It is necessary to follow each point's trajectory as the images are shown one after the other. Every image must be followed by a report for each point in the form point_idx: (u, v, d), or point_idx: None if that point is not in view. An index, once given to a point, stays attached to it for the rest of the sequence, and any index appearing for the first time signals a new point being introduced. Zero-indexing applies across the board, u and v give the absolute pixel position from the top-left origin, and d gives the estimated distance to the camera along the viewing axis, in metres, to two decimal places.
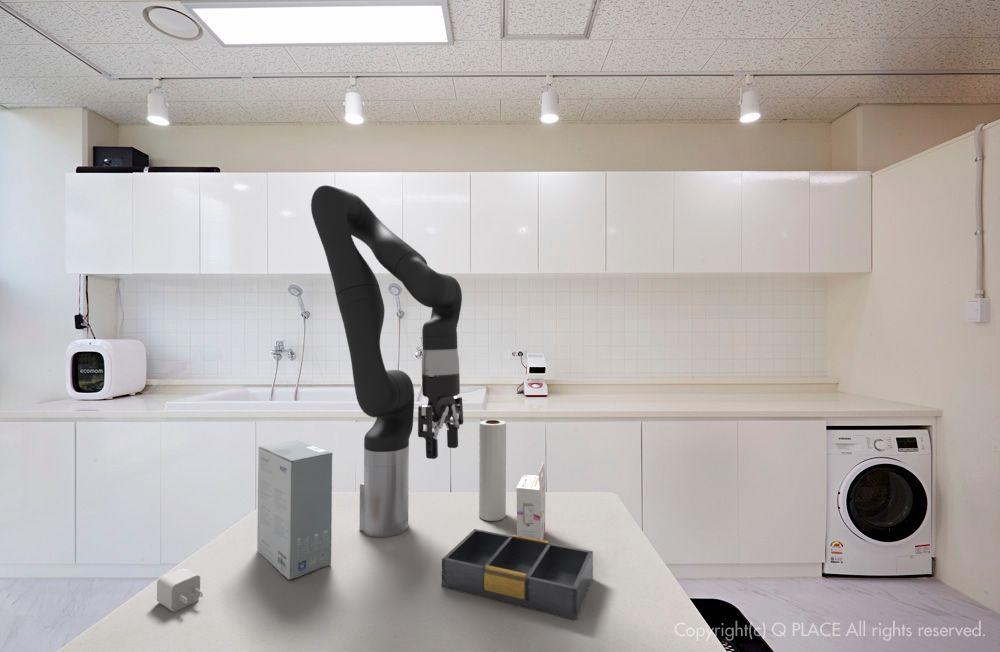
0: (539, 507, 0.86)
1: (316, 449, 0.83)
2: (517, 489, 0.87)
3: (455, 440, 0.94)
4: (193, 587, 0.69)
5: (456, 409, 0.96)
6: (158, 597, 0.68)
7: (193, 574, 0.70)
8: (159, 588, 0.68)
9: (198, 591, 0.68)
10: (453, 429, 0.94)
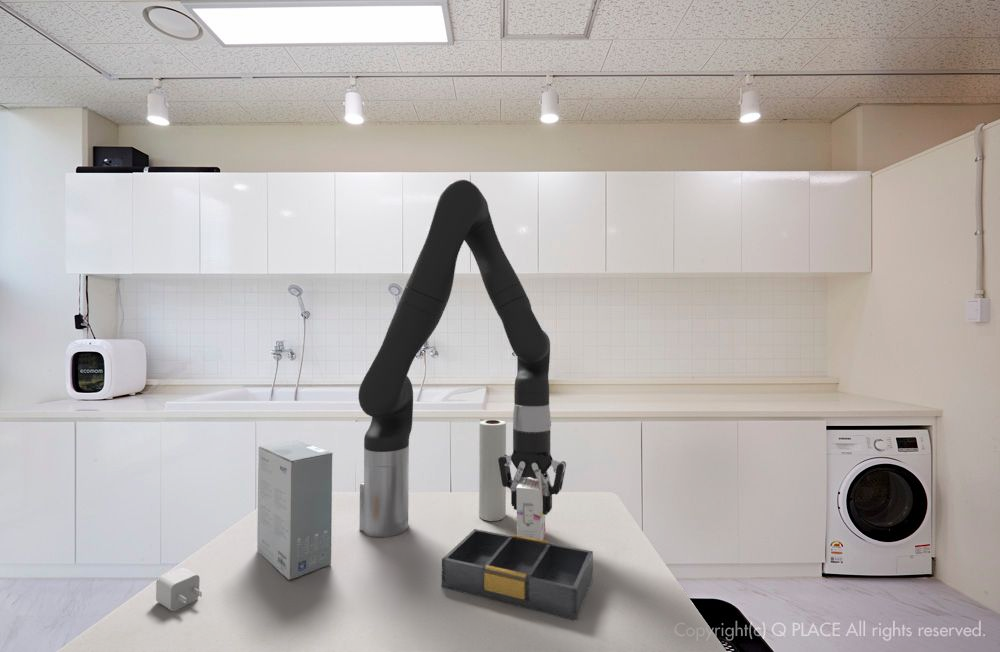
0: (539, 507, 0.86)
1: (316, 449, 0.83)
2: (517, 489, 0.87)
3: None
4: (193, 586, 0.69)
5: (508, 468, 0.93)
6: (157, 597, 0.68)
7: (192, 574, 0.70)
8: (158, 588, 0.68)
9: (198, 591, 0.68)
10: None
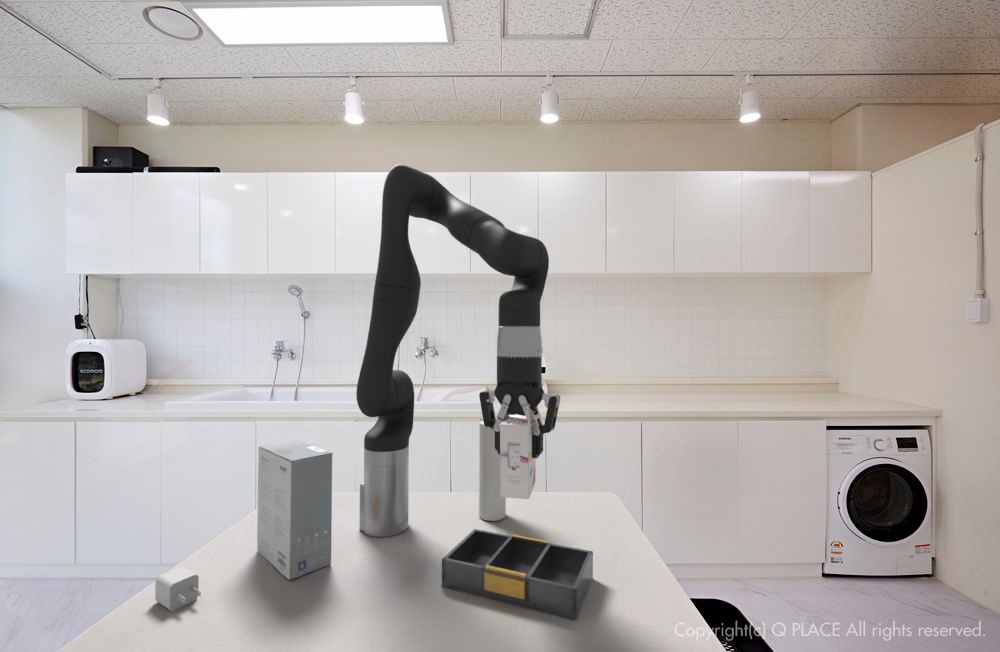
0: (527, 447, 0.71)
1: (316, 449, 0.83)
2: (501, 426, 0.72)
3: None
4: (192, 586, 0.69)
5: (491, 405, 0.78)
6: (156, 596, 0.68)
7: (191, 573, 0.70)
8: (157, 587, 0.68)
9: (197, 590, 0.68)
10: None
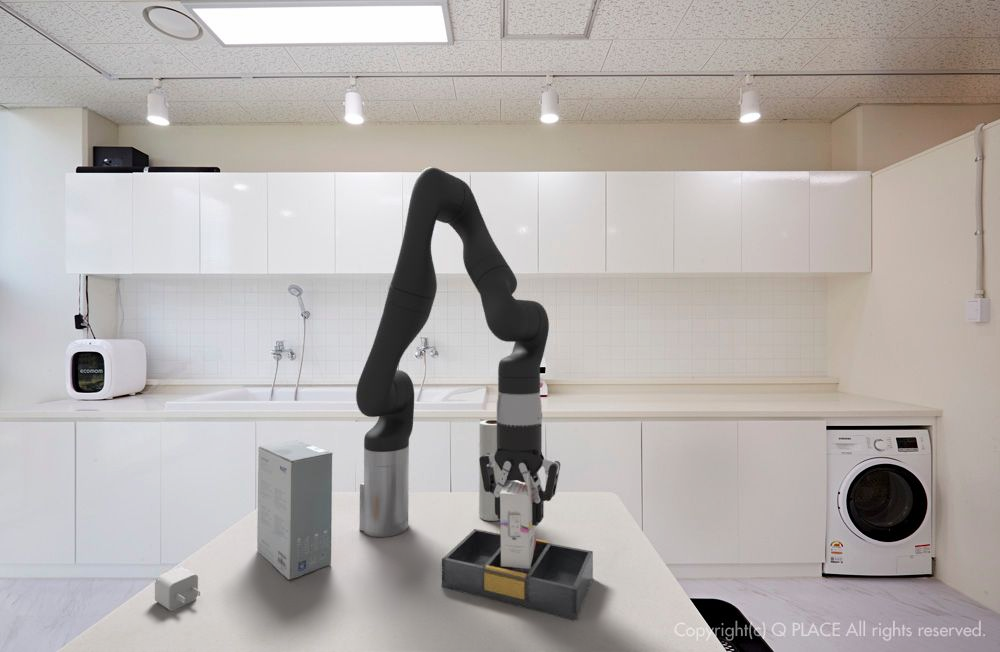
0: (527, 517, 0.71)
1: (316, 449, 0.83)
2: (501, 495, 0.71)
3: None
4: (191, 586, 0.69)
5: (491, 469, 0.77)
6: (156, 596, 0.69)
7: (191, 573, 0.70)
8: (157, 587, 0.68)
9: (196, 590, 0.68)
10: None
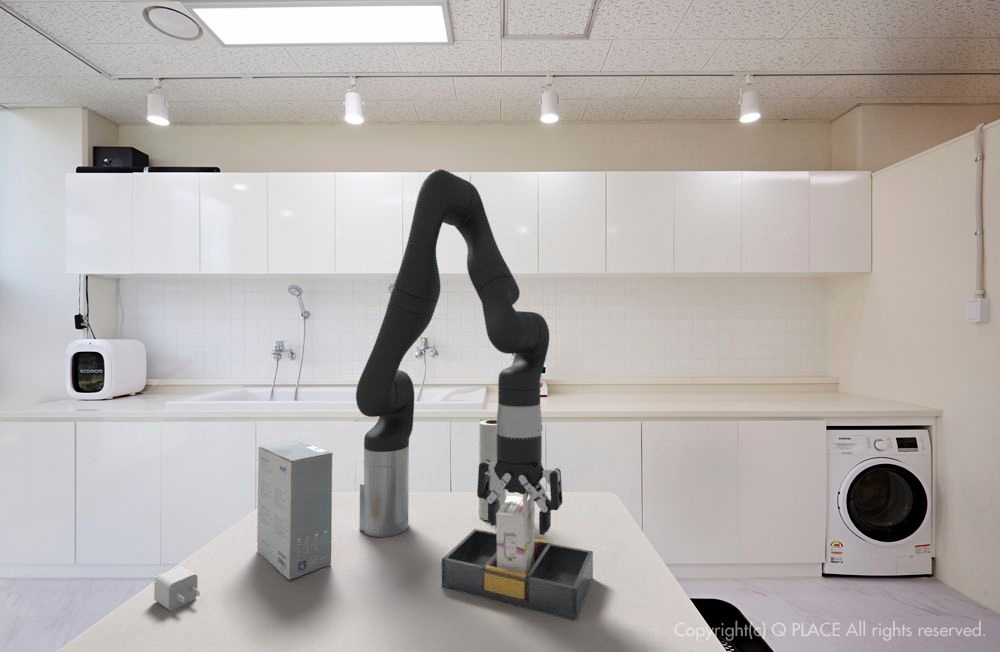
0: (523, 538, 0.71)
1: (316, 449, 0.83)
2: (497, 515, 0.72)
3: None
4: (191, 586, 0.69)
5: (488, 476, 0.78)
6: (155, 596, 0.69)
7: (190, 573, 0.70)
8: (156, 587, 0.68)
9: (196, 590, 0.68)
10: (497, 500, 0.77)
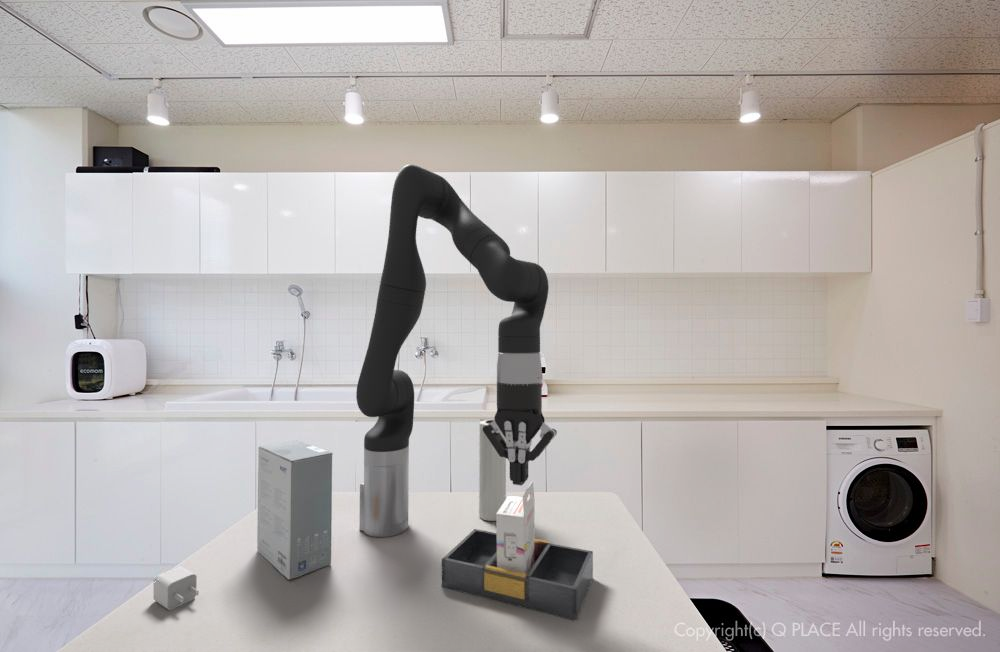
0: (523, 538, 0.71)
1: (316, 449, 0.83)
2: (497, 515, 0.72)
3: None
4: (190, 586, 0.69)
5: (498, 435, 0.77)
6: (155, 595, 0.69)
7: (189, 573, 0.70)
8: (156, 587, 0.69)
9: (195, 590, 0.68)
10: None
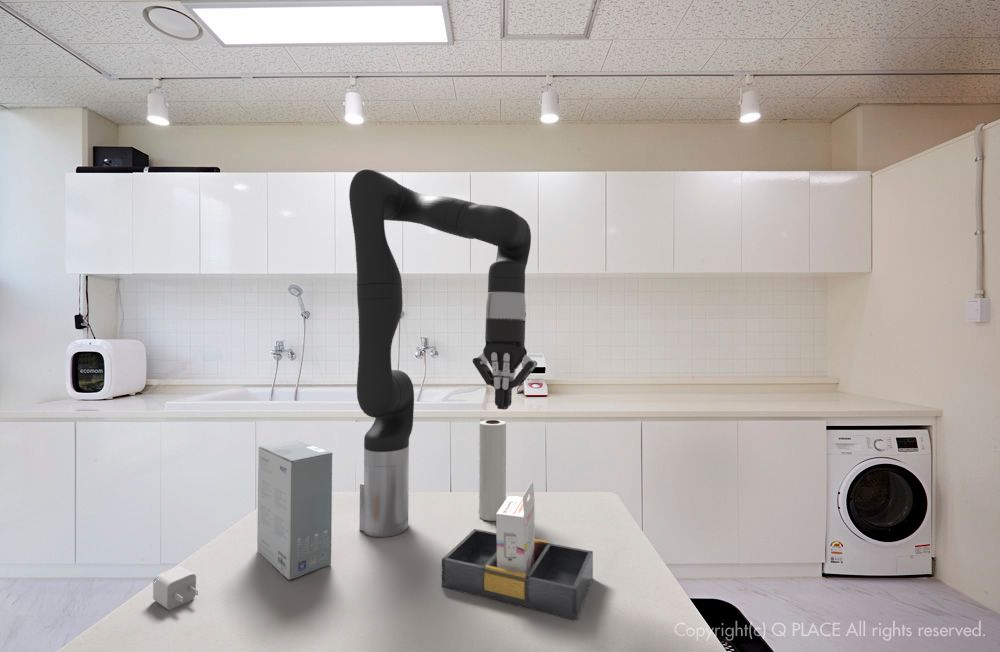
0: (523, 538, 0.71)
1: (316, 449, 0.83)
2: (497, 515, 0.72)
3: None
4: (189, 585, 0.69)
5: (486, 367, 0.87)
6: (154, 595, 0.69)
7: (189, 573, 0.70)
8: (155, 586, 0.69)
9: (194, 590, 0.68)
10: None
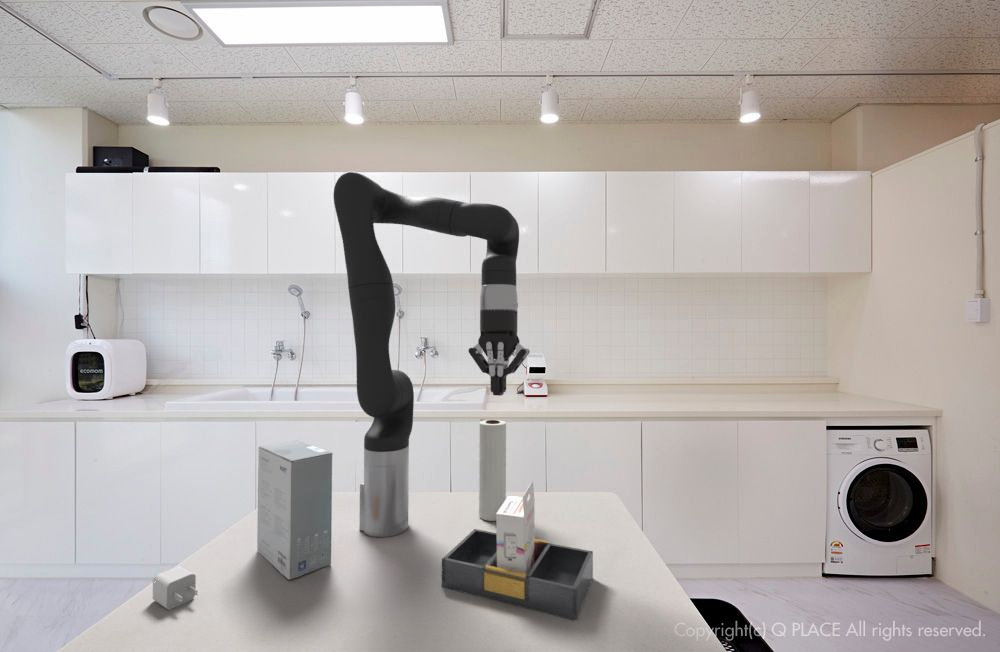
0: (523, 538, 0.71)
1: (316, 449, 0.83)
2: (497, 515, 0.72)
3: None
4: (189, 585, 0.69)
5: (481, 356, 0.92)
6: (154, 595, 0.69)
7: (188, 572, 0.70)
8: (155, 586, 0.69)
9: (194, 590, 0.68)
10: None
